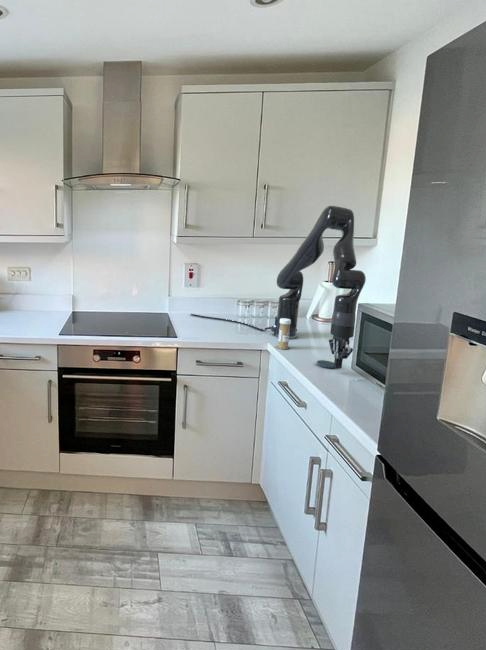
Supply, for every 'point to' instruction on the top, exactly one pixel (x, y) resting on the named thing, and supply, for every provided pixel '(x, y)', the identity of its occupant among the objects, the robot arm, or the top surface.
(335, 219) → the robot arm
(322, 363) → the plate
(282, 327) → the sprinkles bottle
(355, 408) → the top surface
